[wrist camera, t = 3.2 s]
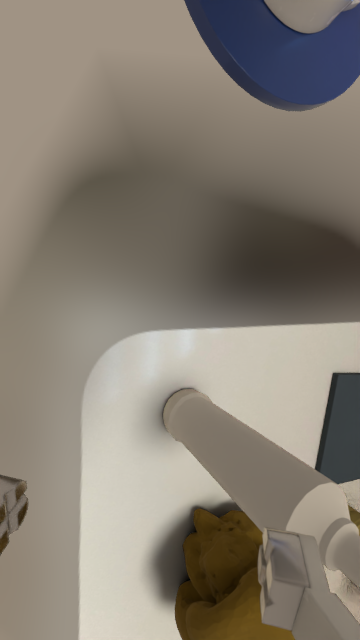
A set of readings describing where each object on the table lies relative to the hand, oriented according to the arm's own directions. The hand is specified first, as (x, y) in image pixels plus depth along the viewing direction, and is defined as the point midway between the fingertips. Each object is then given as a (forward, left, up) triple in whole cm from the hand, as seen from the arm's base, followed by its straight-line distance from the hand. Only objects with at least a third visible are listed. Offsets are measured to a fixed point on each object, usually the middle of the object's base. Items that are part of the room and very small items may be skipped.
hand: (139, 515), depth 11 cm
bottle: (+5, +12, -19) cm, 23 cm away
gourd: (+23, +19, -19) cm, 35 cm away
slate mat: (+9, +42, -18) cm, 47 cm away
